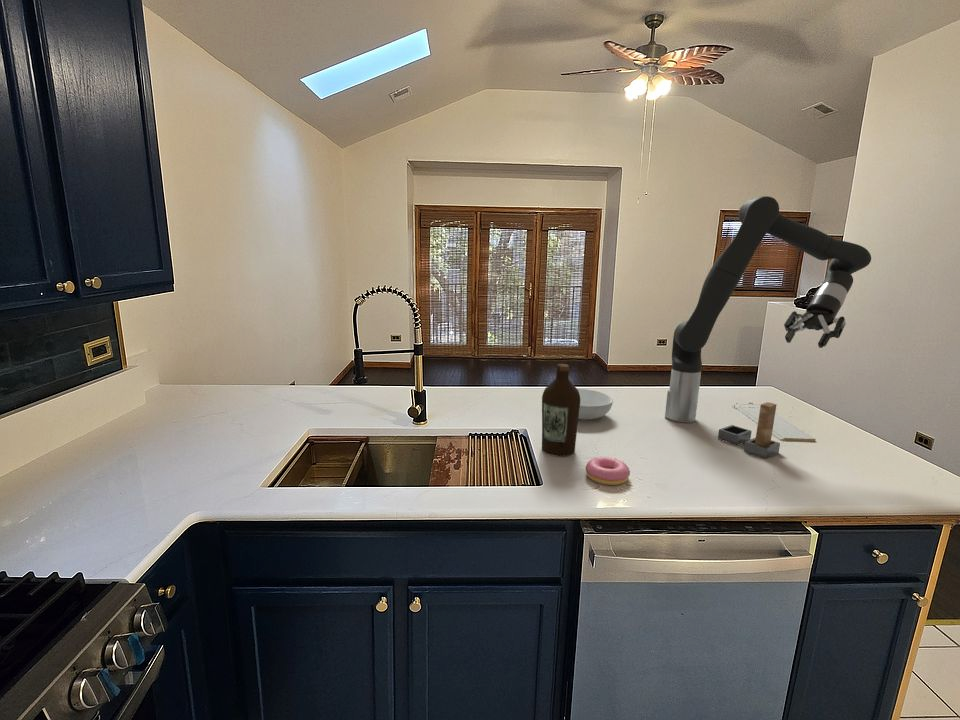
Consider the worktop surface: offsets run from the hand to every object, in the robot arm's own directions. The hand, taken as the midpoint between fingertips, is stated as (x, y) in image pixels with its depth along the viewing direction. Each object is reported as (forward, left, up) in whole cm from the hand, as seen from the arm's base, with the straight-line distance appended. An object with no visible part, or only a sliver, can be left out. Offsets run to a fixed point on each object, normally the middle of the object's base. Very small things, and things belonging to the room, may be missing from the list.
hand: (803, 343), depth 144 cm
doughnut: (-36, -55, -31) cm, 73 cm away
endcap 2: (-6, -13, -31) cm, 34 cm away
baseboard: (-6, +17, -31) cm, 36 cm away
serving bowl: (-61, -15, -31) cm, 70 cm away
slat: (-6, -13, -30) cm, 33 cm away
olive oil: (-53, -47, -31) cm, 77 cm away
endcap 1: (-14, -7, -31) cm, 34 cm away
